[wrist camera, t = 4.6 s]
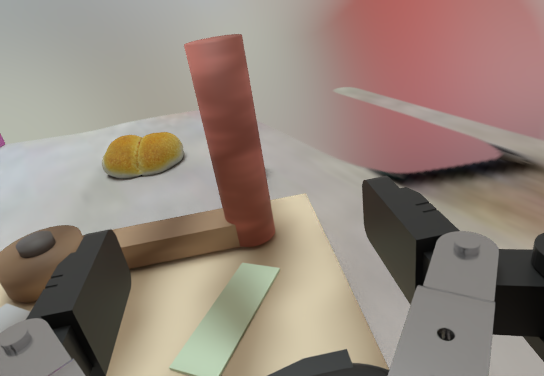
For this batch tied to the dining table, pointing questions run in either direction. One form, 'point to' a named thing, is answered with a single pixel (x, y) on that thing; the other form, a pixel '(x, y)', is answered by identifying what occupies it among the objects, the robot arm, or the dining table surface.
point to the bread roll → (142, 155)
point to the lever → (190, 228)
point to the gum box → (1, 141)
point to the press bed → (238, 307)
